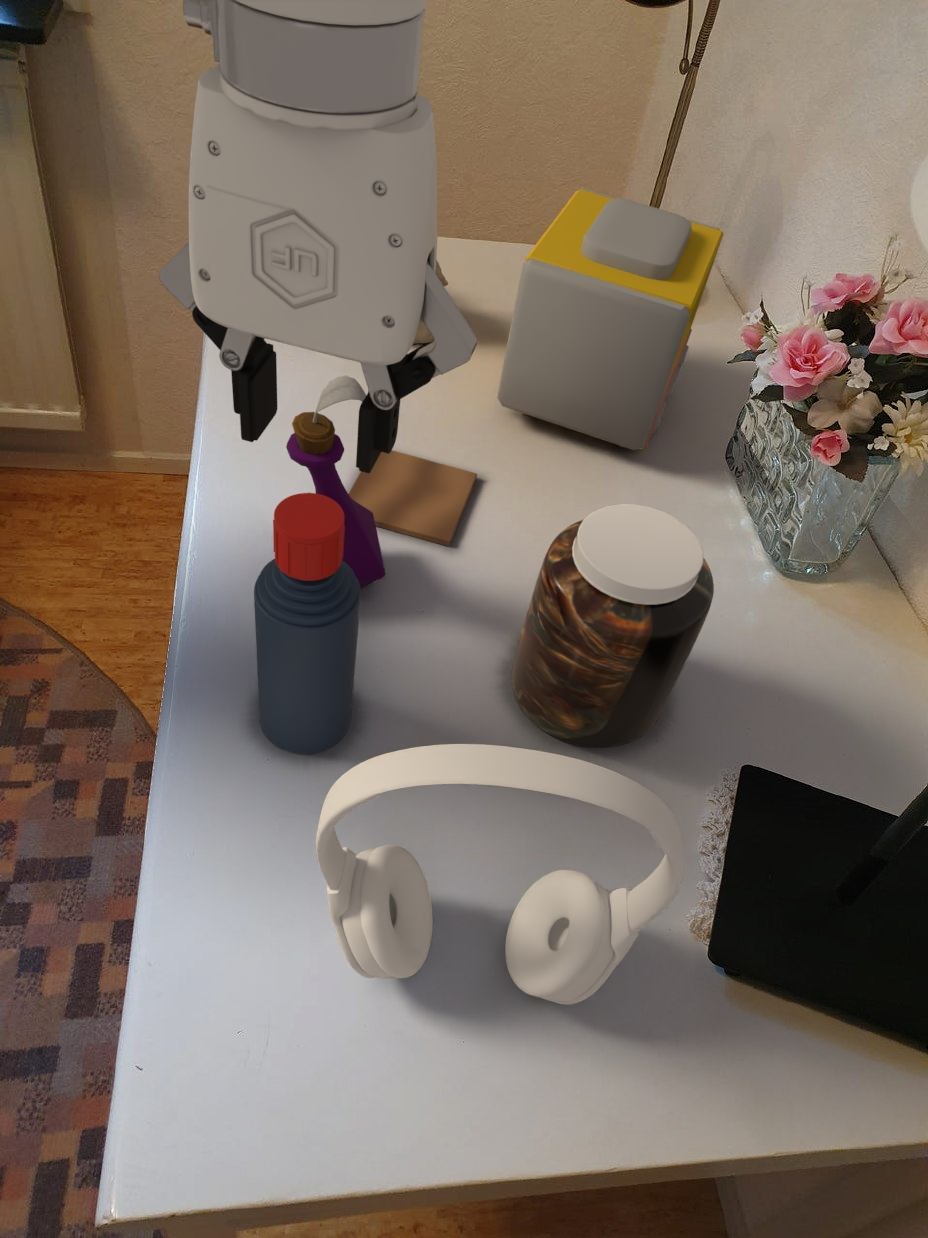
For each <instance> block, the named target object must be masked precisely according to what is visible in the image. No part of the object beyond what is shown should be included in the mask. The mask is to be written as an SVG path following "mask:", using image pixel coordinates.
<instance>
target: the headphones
mask: <svg viewBox="0 0 928 1238" xmlns="http://www.w3.org/2000/svg"><path fill="white" fill-rule="evenodd" d="M433 785H481V786H495V787H504V788H505V787H506V788H513V789H522V790H530V791H535V792H541V793H547V794H552V795H557V796H560V797H561V796H562V797H566V798H570V799H575V800H578V801H583V802H586V803H589V804H593V805H596V806H599V807H602V808H605V809H607V810H610V811H612V812H616V813H618V814H619V815H623V816H625V817H627V818H630V819H631V820H633V821H634V822H637V823H639V824H641V825H642V826H644V827H645V828H647V830H648V832H649V834H650V836H651V837H652V839H653V840H654V841H655V843H657V844H658V846H659V847H660V848H661V850H662V851H663V852H664V856H663V857H662V860H661V862H660V863H659V865H658V866H657V867H656V869H655V870H653V871H652V873H651V874H649V876H648V877H647V878H645V879H644V880H643V881H642V882H639V884H638V885H636V886H635V887H634V888H630V887H628V886H626V887H619V888H616V889H614V890H612V891H611V890H609V889H608V888H606V887H604V886H603V885H602V884H600V883H599V882H597V881H595V880H594V879H593V878H592V877H590V876H589V875H587V874H585V873H583V872H580V871H577V870H574V869H567V868H566V869H558V870H554V871H552V872H549V873H547V874H545V875H543V876H542V877H540V878H539V879H537V880H536V881H535V882H534V883H533V884H532V885H531V886H530V887H529V888H528V890H527V891H526V892H525V893H524V894H523V896H522V897H521V898H520V900H519V902H518V903H517V906H516V907H515V909H514V910H513V911H514V912H513V913H512V916H511V919H510V921H509V924H508V928H507V931H506V932H507V933H506V939H505V949H504V950H505V961H506V962H505V963H506V967H507V970H508V973H509V976H510V978H511V980H512V981H513V982H514V984H515V986H516V987H517V988H518V989H519V990H521V991H522V992H523V993H525V994H527V995H529V996H532V997H536V998H541V999H543V1000H545V1001H550V1002H554V1003H556V1004H560V1005H573V1004H578V1003H580V1002H583V1001H584V1000H586V999H588V998H590V997H591V996H592V995H593V994H594V993H596V992H597V991H598V990H599V989H600V988H601V987H602V986H603V985H604V983H605V982H606V981H607V979H608V978H609V977H610V976H611V974H612V973H613V971H614V970H615V969H616V967H617V966H618V965H619V964H620V963H621V961H622V960H623V959H624V958H625V957H626V955H627V953H628V952H629V951H630V949H631V948H632V947H633V944H634V943H635V941H636V940H637V938H638V937H639V931H640V930H642V929H643V928H644V927H646V926H647V925H648V924H650V923H651V922H652V921H654V920H655V919H656V918H657V917H659V916H660V915H662V913H663V912H665V911H666V910H667V909H668V907H669V906H670V905H671V904H673V902H674V900H675V899H676V897H677V896H678V894H679V892H680V890H681V888H682V884H683V881H684V875H685V874H684V872H685V860H684V859H685V857H684V847H683V840H682V833H681V829H680V826H679V824H678V821H677V819H676V817H675V815H674V813H673V812H672V811H671V809H670V808H669V806H668V805H666V803H665V802H664V801H663V800H662V799H661V798H660V797H658V796H657V795H656V794H655V793H654V792H652V791H651V790H650V789H648V788H647V787H645V786H644V785H642V784H640V783H639V782H637V781H636V780H634V779H631V778H630V777H627V776H625V775H623V774H621V773H618V772H616V771H614V770H612V769H609V768H606V767H604V766H601V765H599V764H595V763H593V762H589V761H586V760H583V759H579V758H576V757H575V758H574V757H571V756H568V755H567V756H566V755H562V754H558V753H552V752H548V751H542V750H536V749H529V748H524V747H523V748H522V747H513V746H507V745H496V744H482V743H481V744H480V743H445V744H433V745H432V744H430V745H423V746H415V747H408V748H404V749H399V750H393V751H390V752H387V753H383V754H380V755H376V756H373V757H371V758H369V759H366V760H363V761H362V762H360V763H358V764H356V765H355V766H353V767H351V768H350V769H348V770H347V771H345V772H344V774H342V775H341V776H340V777H339V778H338V779H336V781H335V782H334V783H333V785H332V786H331V787H330V789H329V790H328V792H327V794H326V796H325V799H324V801H323V804H322V808H321V812H320V815H319V819H318V826H317V830H316V837H315V853H316V854H315V855H316V860H317V864H318V866H319V869H320V872H321V875H322V876H323V878H324V880H325V883H326V884H327V885H326V895H327V904H328V910H329V915H330V919H331V922H332V925H333V929H334V931H335V935H336V938H337V941H338V944H339V946H340V949H341V951H342V953H343V956H344V958H345V960H346V961H347V963H348V964H349V966H350V968H352V969H353V970H354V971H355V972H356V973H357V974H358V975H360V976H361V977H364V978H366V979H367V978H368V979H375V978H377V979H389V978H396V979H406V978H410V977H412V976H413V975H415V974H416V973H417V972H419V970H420V969H421V968H422V966H423V965H424V963H425V961H426V959H427V957H428V954H429V951H430V946H431V942H432V937H433V907H432V900H431V895H430V894H431V893H430V890H429V886H428V882H427V880H426V877H425V873H424V872H423V870H422V867H421V865H420V864H419V862H418V860H417V859H416V858H415V856H414V855H413V854H412V853H411V852H410V851H409V850H408V849H406V847H405V848H404V847H403V846H401V845H397V844H385V845H381V846H377V847H376V848H368V849H365V850H363V851H357V852H354V851H353V850H352V849H350V848H348V847H346V846H345V847H342V845H341V842H340V840H339V838H338V835H337V832H336V826H337V825H338V823H339V822H340V821H341V820H342V819H343V818H345V817H346V816H347V815H348V814H350V813H351V812H353V811H354V810H356V809H358V808H360V807H361V806H364V805H366V804H369V803H372V802H373V801H375V800H376V799H378V798H379V797H380V796H381V795H383V793H384V792H390V791H393V790H394V791H395V790H398V789H403V788H412V787H421V786H433Z"/></svg>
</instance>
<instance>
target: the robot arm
mask: <svg viewBox="0 0 928 1238" xmlns="http://www.w3.org/2000/svg"><path fill="white" fill-rule="evenodd" d="M426 1H427V0H182V11H183V17H184V21H185V23H186V25H187V26H188V27H192V28H197V29H202V30H203V32H204V33H205V34H206V35H208V36H211V38H212V44H213V45H212V47H213V60H214V62H217V63H218V64H216V65H214V66H213V67H211V68H207V70H205V71H203V72H201V74H200V75H199V76H198V82H197V89H196V95H195V102H194V103H195V104H194V109H193V110H194V111H193V118H192V119H193V120H192V131H191V142H190V157H189V177H188V241H187V242H186V244H185V245H183V247H181V248H180V250H179V251H178V252H177V253H176V254H175V255H174V256H172V258H171V259H170V260H169V261H168V262H167V263H166V264H165V265H164V266H163V267H162V268H161V269H160V271H159V272H158V279H159V281H160V283H161V284H162V286H163V287H164V288H165V289H166V290H167V291H168V292H169V293H170V294H171V295H172V297H173V298H175V299H176V300H177V301H178V302H179V304H181V306H183V307H184V308H185V310H189V311H190V312H191V315H192V319H193V321H194V323H195V324H196V325H197V326H198V327H199V329H200V330H201V331H202V332H203V333H204V334H205V335H206V336H207V338H208V339H209V340H210V341H211V342H212V343H213V344H214V345H215V346H216V347H217V349H219V353H218V354H219V355H218V356H219V361H220V363H221V364H222V365H223V366H224V367H225V368H227V369H228V370H230V372H231V388H232V403H233V405H232V406H233V411H234V413H235V414H237V415H239V422H240V423H239V424H240V438H241V440H242V441H245V442H248V443H249V442H250V443H254V442H255V441H256V442H257V441H258V440H259V439H260V438H261V436H262V435H263V433H264V432H265V430H266V429H267V427H268V426H269V425H270V423H271V422H272V420H273V419H274V418H275V416H276V414H277V412H278V373H277V371H278V369H277V367H278V366H277V351H275V350H274V344H271V343H268V342H267V341H266V340H268V341H269V340H270V341H273V342H276V343H277V342H278V343H281V344H284V345H289V346H293V347H297V348H299V349H300V348H301V349H304V350H307V351H312V352H316V353H320V354H323V355H328V356H332V357H336V358H340V359H344V360H349V361H353V362H357V363H360V365H361V370H362V373H363V376H364V379H365V383H366V386H367V390H368V391H367V393H366V397H365V399H364V400H363V402H362V401H361V403H360V405H359V409H358V421H357V440H356V459H355V460H356V461H355V467H356V469H358V471H359V472H365V473H370V472H371V470H372V468H373V467H374V465H375V463H376V461H377V459H378V457H379V456H380V454H381V452H384V453H388V454H389V453H390V452H391V450H392V451H393V449H394V447H395V444H396V441H397V437H398V430H399V429H398V428H399V419H400V409H401V408H400V407H401V400H402V399H403V398H405V397H406V396H408V395H410V394H412V393H414V392H415V391H417V390H419V389H420V388H422V387H424V386H426V385H428V384H429V383H430V382H431V381H432V379H434V378H435V377H438V376H441V375H442V376H443V375H444V374H446V373H448V372H450V371H452V370H455V369H457V368H459V367H460V366H462V365H464V364H466V363H468V362H469V361H470V360H471V358H472V356H473V354H474V352H475V350H476V348H477V345H478V337H477V335H476V334H475V332H474V330H473V329H472V328H471V326H470V325H469V323H468V322H467V320H466V318H465V317H464V315H463V314H462V312H461V311H460V309H459V307H458V306H457V304H456V303H455V302H454V299H453V298H452V297H451V295H450V293H449V291H448V290H447V289H446V286H443V284H442V283H441V281H440V280H439V278H438V277H437V275H436V259H437V254H438V253H437V252H438V225H439V223H438V219H439V217H438V215H439V194H438V193H439V191H438V187H439V186H438V184H439V183H438V159H437V144H436V143H437V141H436V133H435V121H434V114H433V106H432V103H431V101H430V100H429V98H428V97H426V96H424V95H421V94H419V84H420V74H421V62H422V50H423V39H424V38H423V37H424V25H425V13H426V9H425V7H426ZM422 321H423V323H424V324H425V326H426V327H427V329H428V330H429V332H430V333H431V335H432V336H433V338H434V341H433V342H431V343H423V344H422V345H420V346H419V347H417V348H415V349H413V350H412V351H410V350H411V349H412V347H413V345H414V344H413V343H414V340H415V337H416V334H417V330H418V326H419V322H422ZM265 339H266V340H265ZM409 351H410V352H409Z"/></svg>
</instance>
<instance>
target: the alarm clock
mask: <svg viewBox="0 0 928 1238" xmlns="http://www.w3.org/2000/svg"><path fill="white" fill-rule="evenodd" d="M723 237H724V231H723V230H721V229H720V228H719V227H716V226H713V225H709V224H706V223H702V222H699V221H696V220H692V219H689V218H687V217H685V216H683V215H680V214H678V213H675V212H672V211H668V210H665V209H661V208H658V207H654V206H651V205H647V204H645V203H641V202H637V201H634V200H630V199H626V198H618V197H614V196H611V195H609V194H608V195H607V194H604V193H601V192H597V191H594V190H591V189H588V188H585V187H584V188H579V189H578V190H576V191H575V192H574V193H573V194H572V196H571V197H570V198H569V200H568V201H567V202H566V204H565V205H564V206H563V208H562V209H561V211H559V213H558V214H557V216H556V217H555V219H554V220H553V221H552V222H551V224H550V225H549V227H548V228H546V230H545V231H544V233H543V234H542V235H541V237H540V238H539V240H538V241H537V242H536V244H535V245H534V246H533V247H532V249H531V250H530V251H529V252H528V254H527V256H526V257H525V258H524V262H522V267H521V272H520V277H519V282H518V287H517V293H516V298H515V302H514V307H513V313H512V317H511V318H512V319H511V322H510V323H511V324H510V328H509V332H508V338H507V342H506V348H505V353H504V357H503V364H502V367H501V374H500V379H499V385H498V390H497V396H496V398H497V400H498V402H499V404H500V405H501V406H502V407H504V408H507V409H510V410H511V411H512V410H513V411H515V412H519V413H520V414H521V415H523V416H531V417H533V418H536V419H539V420H542V421H545V422H549V423H551V424H554V425H557V426H560V427H564V428H567V429H569V430H573V431H575V432H578V433H581V434H585V435H587V436H590V437H593V438H596V439H599V440H602V441H605V442H608V443H610V444H615V445H618V447H620V448H626V449H629V450H633V451H637V450H640V449H641V450H643V451H644V450H647V448H648V446H649V443H650V440H651V438H652V435H653V433H654V434H656V433H657V431H658V428H659V425H660V423H661V420H662V418H663V415H664V413H665V411H666V407H667V406H668V403H669V400H670V398H671V396H672V393H673V390H674V387H675V385H676V382H677V380H678V377H679V374H680V373H681V370H682V367H683V364H684V362H685V359H686V357H687V354H688V351H689V348H690V345H688V343H689V340H690V337H691V335H692V331H693V330H692V326H693V323H694V322H695V318H696V315H697V312H698V309H699V306H700V303H701V300H702V299H703V298H702V297H703V295H704V292H705V288H706V286H707V283H708V280H709V277H710V274H711V271H712V268H713V266H714V263H715V260H716V258H717V254H718V251H719V249H720V246H721V242H722V240H723Z"/></svg>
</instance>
